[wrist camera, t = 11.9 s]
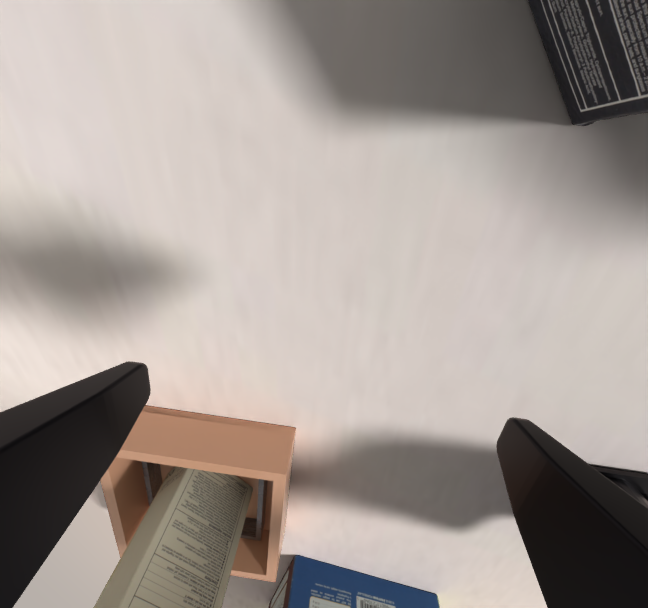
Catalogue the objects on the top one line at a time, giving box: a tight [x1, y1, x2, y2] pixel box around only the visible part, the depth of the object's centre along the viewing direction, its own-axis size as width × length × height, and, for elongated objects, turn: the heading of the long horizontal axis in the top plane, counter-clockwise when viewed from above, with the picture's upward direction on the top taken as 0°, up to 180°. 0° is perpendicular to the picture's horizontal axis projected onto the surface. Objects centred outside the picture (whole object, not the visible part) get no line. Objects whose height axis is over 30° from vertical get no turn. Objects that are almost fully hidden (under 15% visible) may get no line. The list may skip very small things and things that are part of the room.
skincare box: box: [94, 466, 253, 608], centre depth 21 cm, size 6×4×12 cm
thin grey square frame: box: [141, 461, 268, 541], centre depth 26 cm, size 9×9×2 cm
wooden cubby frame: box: [100, 406, 296, 582], centre depth 26 cm, size 13×13×4 cm
